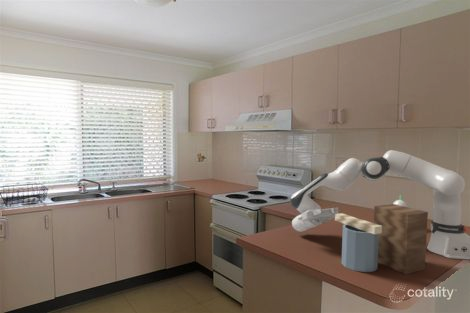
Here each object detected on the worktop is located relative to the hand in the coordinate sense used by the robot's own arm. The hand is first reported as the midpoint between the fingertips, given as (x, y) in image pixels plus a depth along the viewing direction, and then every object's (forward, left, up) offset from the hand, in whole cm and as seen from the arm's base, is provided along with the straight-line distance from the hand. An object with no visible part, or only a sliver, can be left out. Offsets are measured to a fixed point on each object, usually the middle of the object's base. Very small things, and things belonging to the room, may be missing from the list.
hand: (329, 209), depth 147 cm
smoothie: (-38, -54, -20) cm, 69 cm away
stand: (-29, +6, -19) cm, 35 cm away
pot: (-13, +14, -19) cm, 27 cm away
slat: (-12, +12, -3) cm, 17 cm away
